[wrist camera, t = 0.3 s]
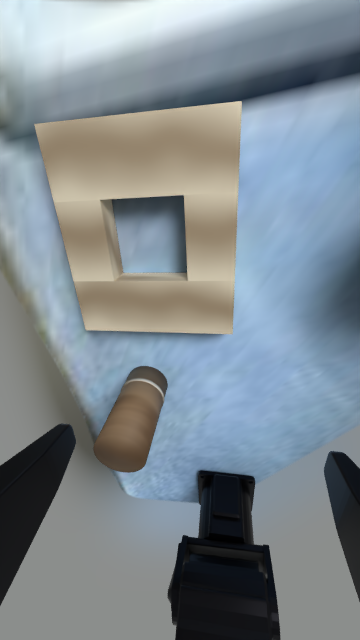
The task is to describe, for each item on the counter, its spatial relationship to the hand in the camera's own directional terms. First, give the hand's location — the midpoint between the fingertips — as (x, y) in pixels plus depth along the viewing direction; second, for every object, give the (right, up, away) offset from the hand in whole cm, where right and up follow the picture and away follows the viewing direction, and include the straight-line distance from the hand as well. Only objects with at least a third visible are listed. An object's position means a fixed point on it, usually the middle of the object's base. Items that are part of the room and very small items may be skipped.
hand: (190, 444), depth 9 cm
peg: (-4, -2, +17) cm, 17 cm away
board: (-2, +11, +10) cm, 15 cm away
